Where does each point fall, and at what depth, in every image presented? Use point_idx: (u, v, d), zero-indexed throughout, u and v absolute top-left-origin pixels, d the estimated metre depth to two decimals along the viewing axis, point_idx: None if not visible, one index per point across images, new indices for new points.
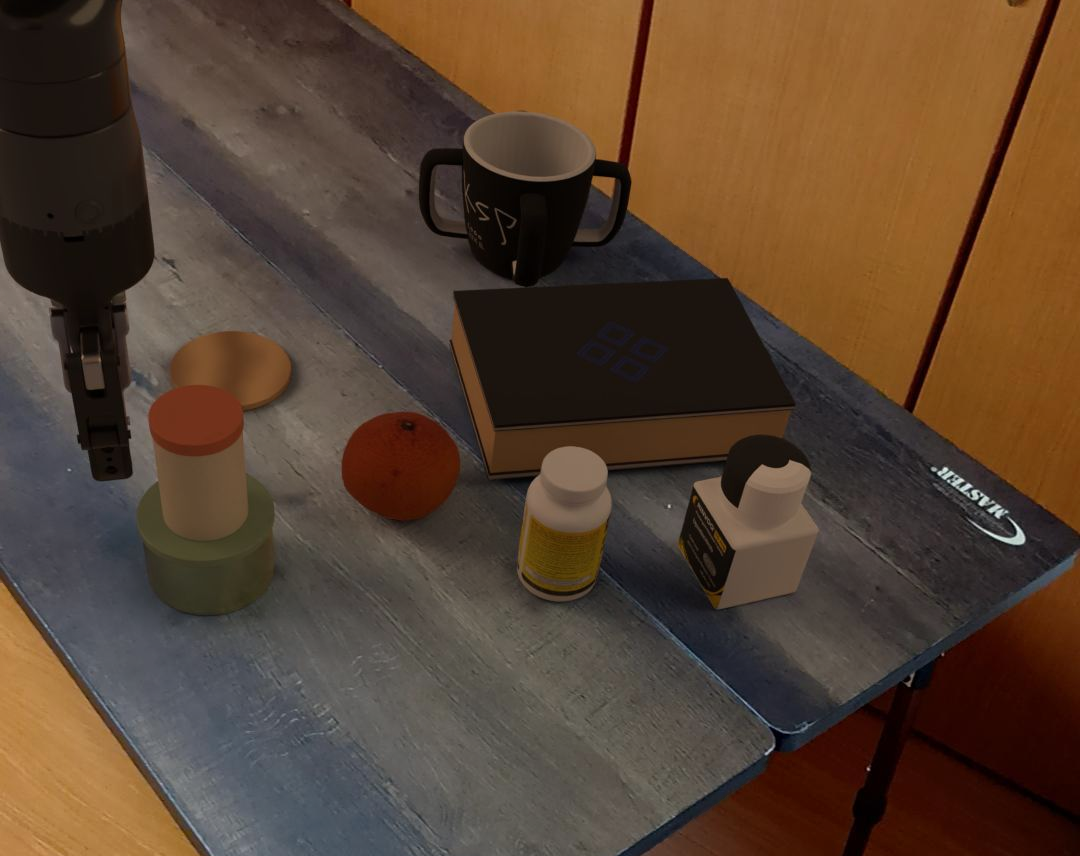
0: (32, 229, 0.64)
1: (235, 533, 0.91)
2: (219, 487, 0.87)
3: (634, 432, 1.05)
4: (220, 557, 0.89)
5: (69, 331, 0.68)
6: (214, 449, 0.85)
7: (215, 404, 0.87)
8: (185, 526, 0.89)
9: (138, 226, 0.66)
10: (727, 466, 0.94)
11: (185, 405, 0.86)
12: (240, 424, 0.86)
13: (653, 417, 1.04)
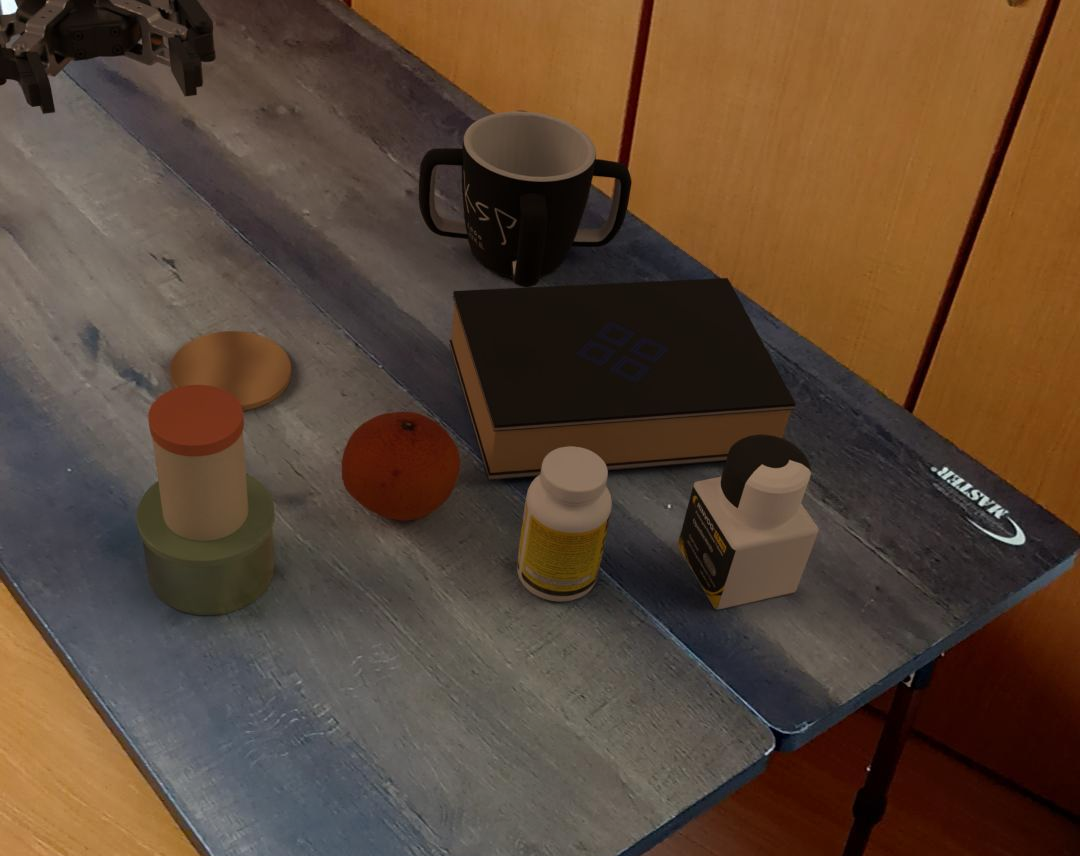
0: None
1: (235, 533, 0.91)
2: (219, 487, 0.87)
3: (634, 432, 1.05)
4: (220, 557, 0.89)
5: None
6: (214, 449, 0.85)
7: (215, 404, 0.87)
8: (185, 526, 0.89)
9: None
10: (727, 466, 0.94)
11: (185, 405, 0.86)
12: (240, 424, 0.86)
13: (653, 417, 1.04)
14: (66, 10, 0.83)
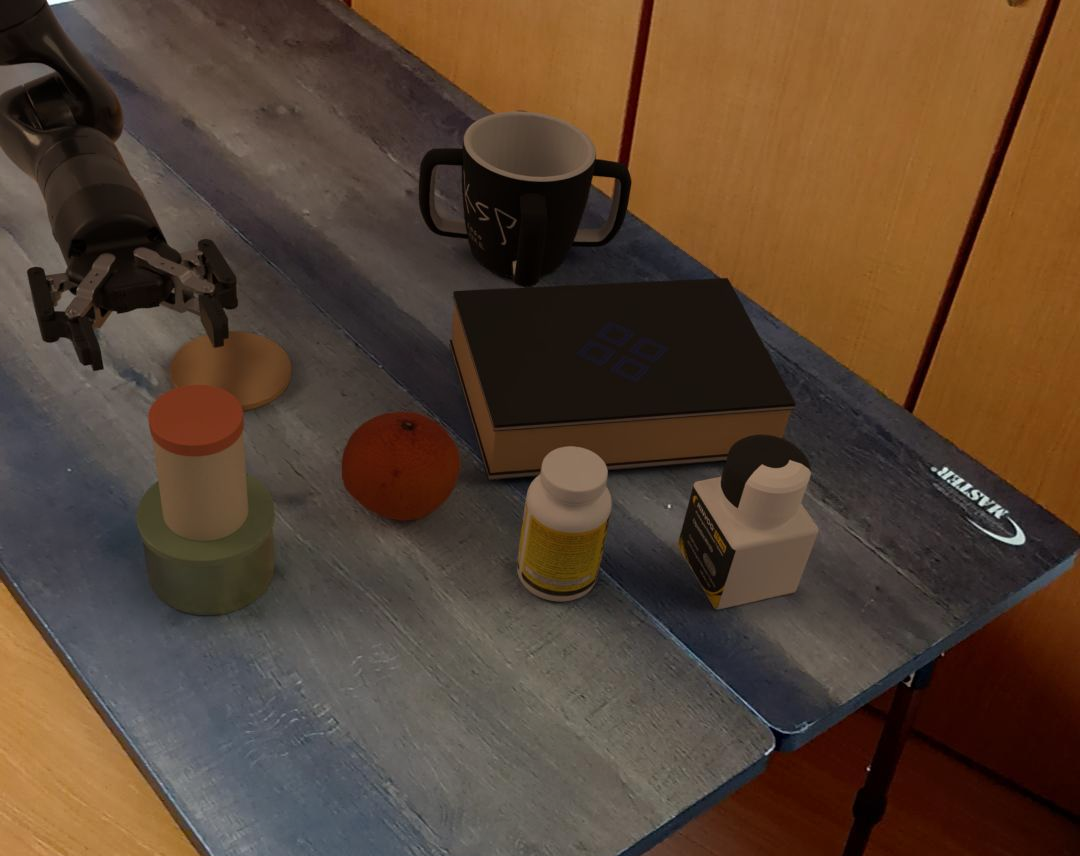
0: (144, 199, 1.02)
1: (235, 533, 0.91)
2: (219, 487, 0.87)
3: (634, 432, 1.05)
4: (220, 557, 0.89)
5: (174, 249, 1.00)
6: (214, 449, 0.85)
7: (215, 404, 0.87)
8: (185, 526, 0.89)
9: None
10: (727, 466, 0.94)
11: (185, 405, 0.86)
12: (240, 424, 0.86)
13: (653, 417, 1.04)
14: (110, 272, 0.96)
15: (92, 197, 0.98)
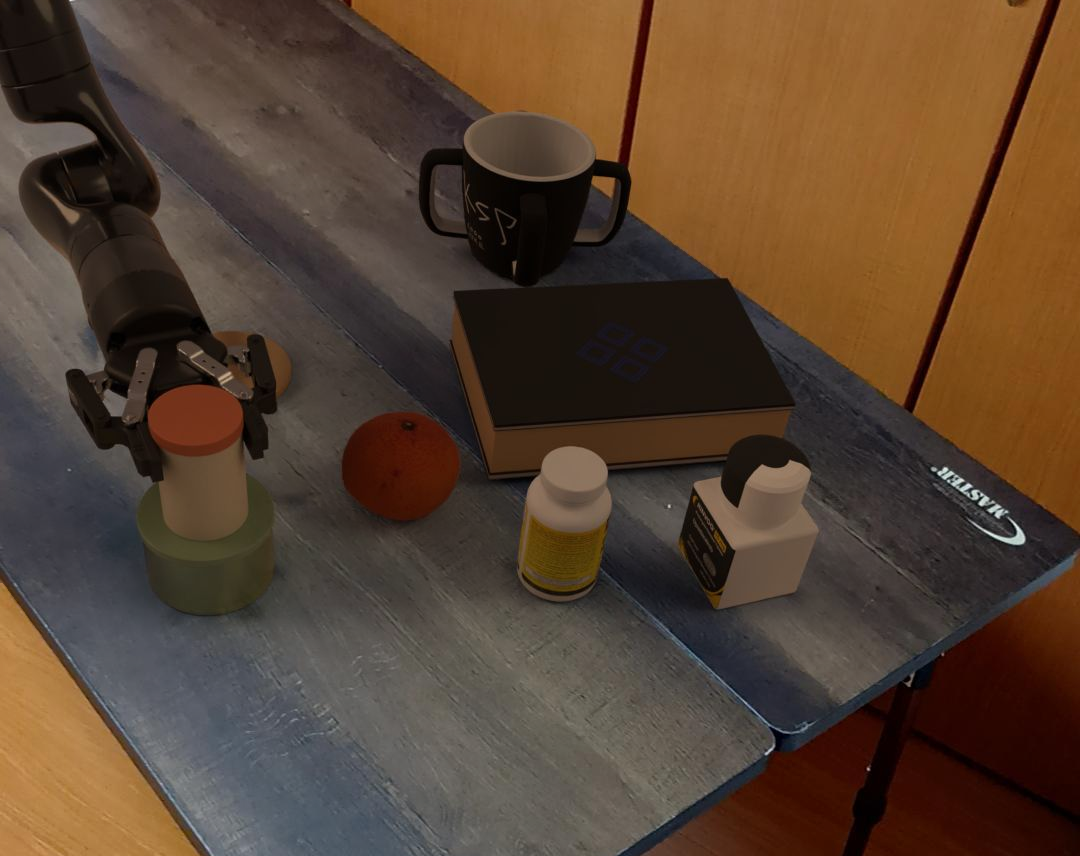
0: (187, 285, 0.95)
1: (235, 533, 0.91)
2: (219, 487, 0.87)
3: (634, 432, 1.05)
4: (220, 557, 0.89)
5: (219, 340, 0.93)
6: (214, 449, 0.85)
7: (215, 404, 0.87)
8: (185, 526, 0.89)
9: None
10: (727, 466, 0.94)
11: (185, 405, 0.86)
12: (240, 424, 0.86)
13: (653, 417, 1.04)
14: None
15: (132, 286, 0.92)
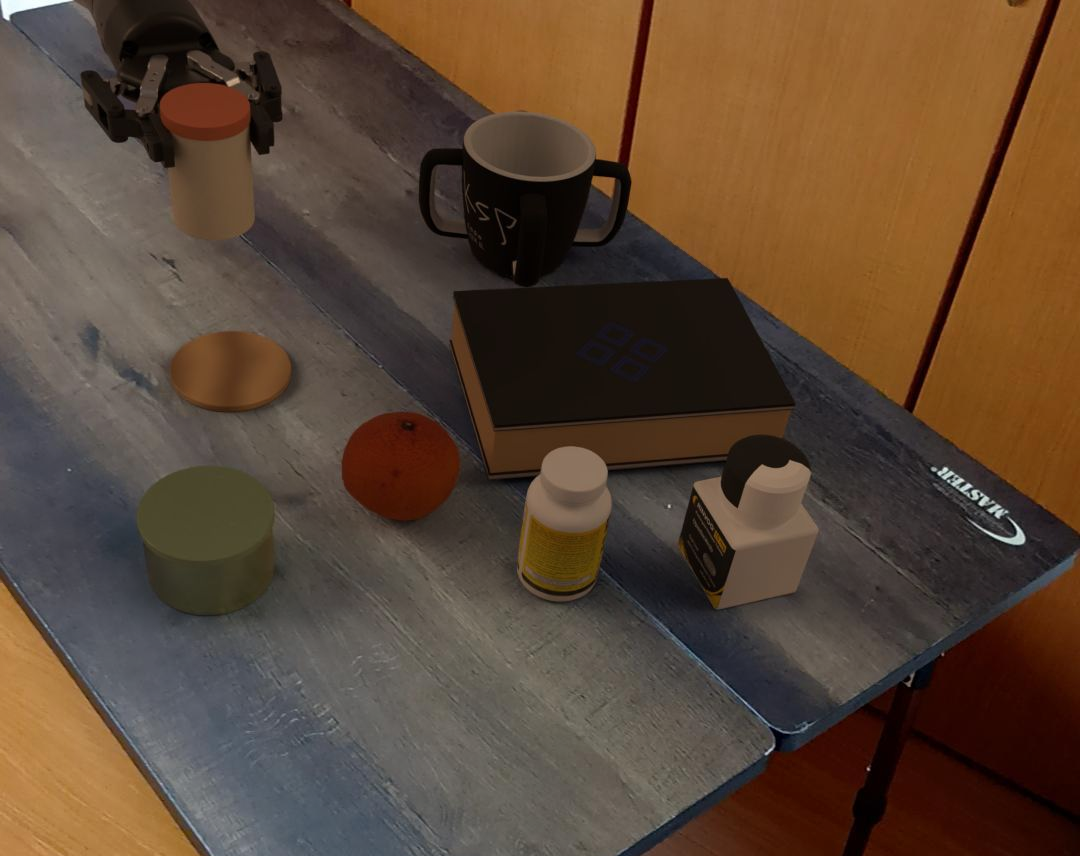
0: (195, 9, 0.99)
1: (235, 533, 0.91)
2: (227, 179, 0.91)
3: (634, 432, 1.05)
4: (220, 557, 0.89)
5: None
6: (222, 134, 0.89)
7: (223, 98, 0.91)
8: (195, 223, 0.94)
9: None
10: (727, 466, 0.94)
11: (195, 97, 0.90)
12: (247, 114, 0.90)
13: (653, 417, 1.04)
14: None
15: (143, 0, 0.96)
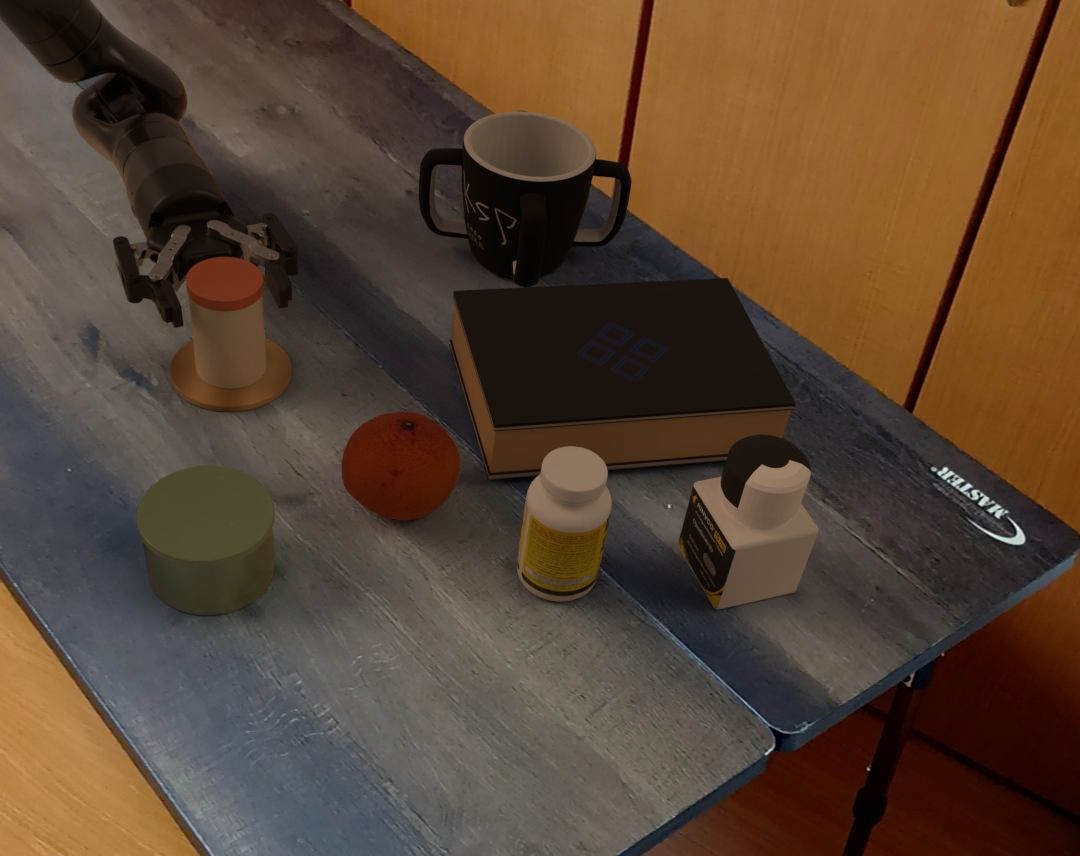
0: (213, 178, 1.14)
1: (235, 533, 0.91)
2: (243, 340, 1.06)
3: (634, 432, 1.05)
4: (220, 557, 0.89)
5: (241, 222, 1.11)
6: (240, 305, 1.04)
7: (240, 271, 1.06)
8: (215, 375, 1.09)
9: None
10: (727, 466, 0.94)
11: (216, 271, 1.05)
12: (261, 286, 1.05)
13: (653, 417, 1.04)
14: (186, 241, 1.08)
15: (169, 175, 1.10)
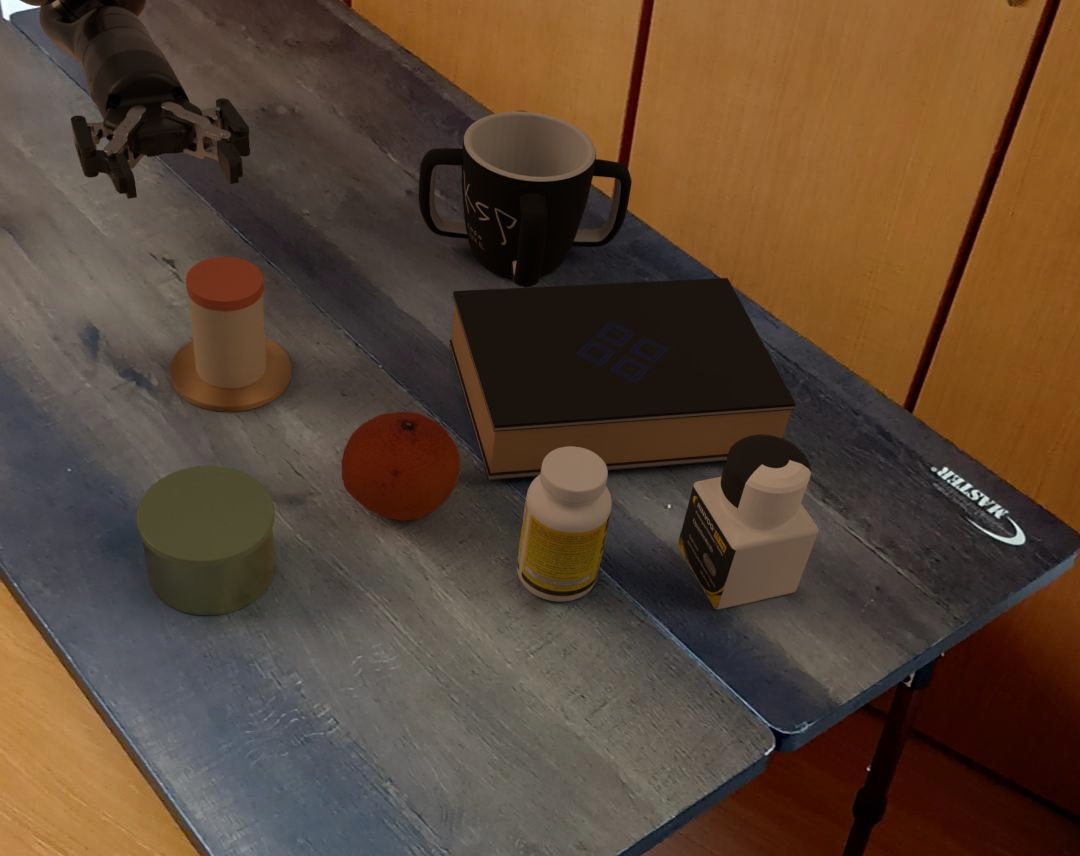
0: (170, 66, 1.19)
1: (235, 533, 0.91)
2: (243, 340, 1.06)
3: (634, 432, 1.05)
4: (220, 557, 0.89)
5: None
6: (240, 305, 1.04)
7: (240, 271, 1.06)
8: (215, 375, 1.09)
9: None
10: (727, 466, 0.94)
11: (216, 271, 1.05)
12: (261, 286, 1.05)
13: (653, 417, 1.04)
14: (141, 120, 1.13)
15: (126, 59, 1.15)
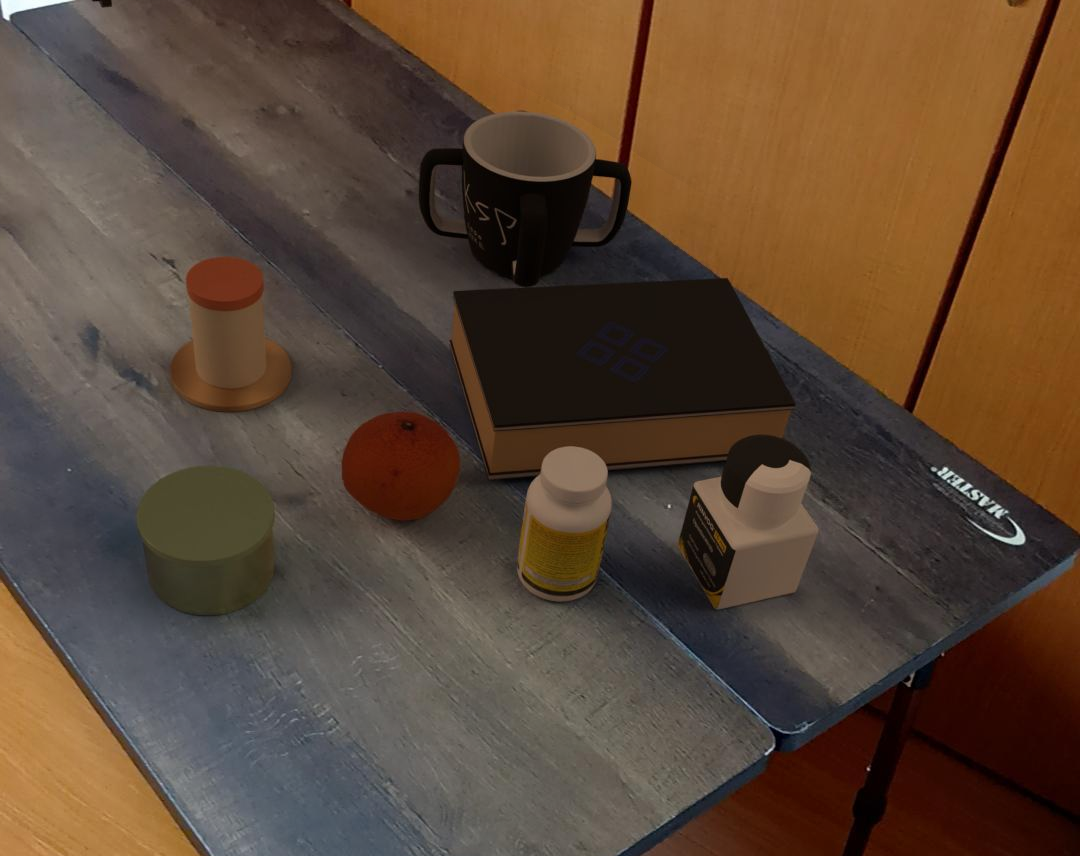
0: None
1: (235, 533, 0.91)
2: (243, 340, 1.06)
3: (634, 432, 1.05)
4: (220, 557, 0.89)
5: None
6: (240, 305, 1.04)
7: (240, 271, 1.06)
8: (215, 375, 1.09)
9: None
10: (727, 466, 0.94)
11: (216, 271, 1.05)
12: (261, 286, 1.05)
13: (653, 417, 1.04)
14: None
15: None
